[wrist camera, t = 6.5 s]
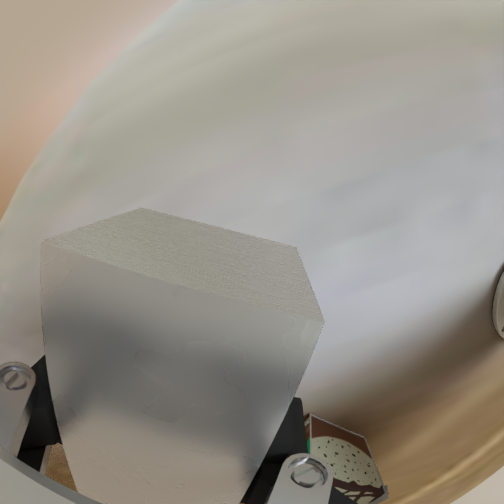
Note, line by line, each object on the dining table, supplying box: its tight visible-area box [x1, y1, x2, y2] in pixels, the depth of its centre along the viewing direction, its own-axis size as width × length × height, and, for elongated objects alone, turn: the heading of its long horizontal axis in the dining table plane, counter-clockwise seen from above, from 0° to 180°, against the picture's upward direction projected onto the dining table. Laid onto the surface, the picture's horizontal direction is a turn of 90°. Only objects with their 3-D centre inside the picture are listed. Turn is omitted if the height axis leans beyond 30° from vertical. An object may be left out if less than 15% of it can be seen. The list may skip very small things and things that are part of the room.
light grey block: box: [40, 208, 325, 504], centre depth 8 cm, size 5×10×5 cm, turn 166°
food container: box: [304, 413, 389, 504], centre depth 27 cm, size 12×6×10 cm, turn 56°
